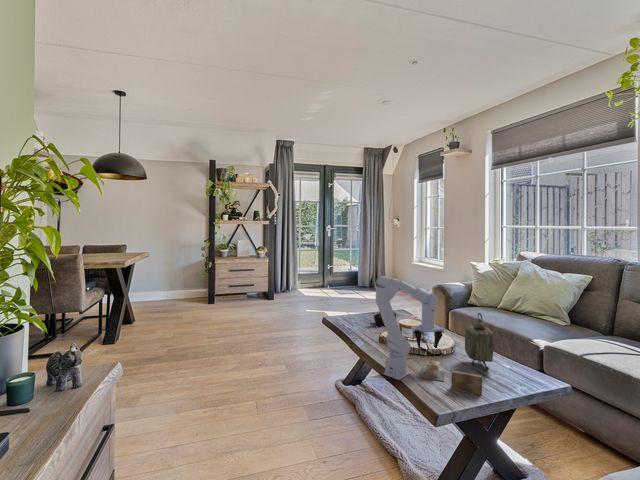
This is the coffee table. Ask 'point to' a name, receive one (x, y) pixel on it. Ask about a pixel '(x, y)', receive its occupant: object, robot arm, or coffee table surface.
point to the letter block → (432, 368)
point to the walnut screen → (466, 382)
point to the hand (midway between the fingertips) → (427, 347)
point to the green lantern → (479, 342)
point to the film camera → (379, 320)
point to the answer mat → (439, 378)
